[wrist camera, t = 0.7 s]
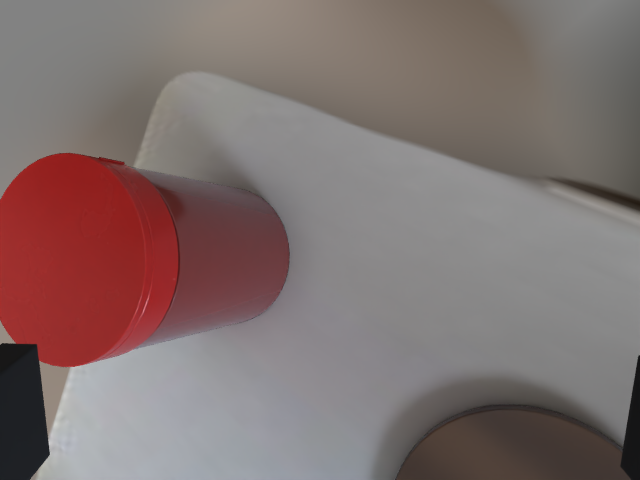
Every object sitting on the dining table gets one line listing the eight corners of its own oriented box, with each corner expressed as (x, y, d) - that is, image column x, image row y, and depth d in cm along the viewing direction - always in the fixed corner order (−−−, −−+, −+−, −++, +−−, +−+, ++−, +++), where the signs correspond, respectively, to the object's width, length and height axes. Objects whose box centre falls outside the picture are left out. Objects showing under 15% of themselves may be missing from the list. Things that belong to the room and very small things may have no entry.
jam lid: (56, 135, 23) (16, 126, 21) (205, 194, 20) (174, 189, 18) (7, 311, 24) (-35, 316, 22) (143, 391, 21) (108, 404, 19)
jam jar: (195, 170, 33) (27, 132, 22) (308, 213, 30) (179, 194, 19) (157, 292, 34) (-21, 313, 23) (263, 345, 31) (117, 398, 20)
